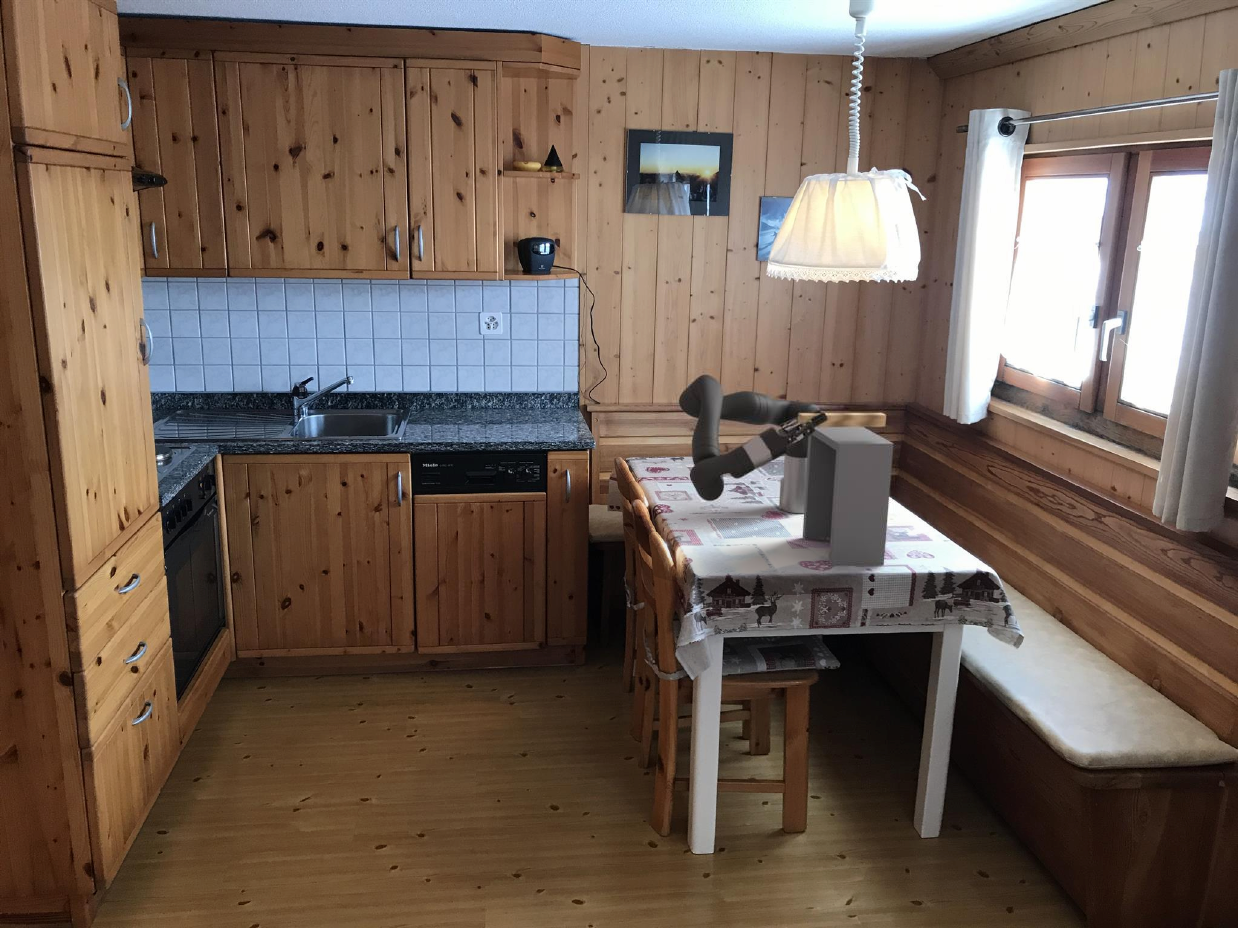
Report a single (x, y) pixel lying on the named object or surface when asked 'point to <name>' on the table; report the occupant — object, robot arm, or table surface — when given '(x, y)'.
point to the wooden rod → (847, 419)
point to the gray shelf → (848, 493)
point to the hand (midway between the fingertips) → (823, 414)
